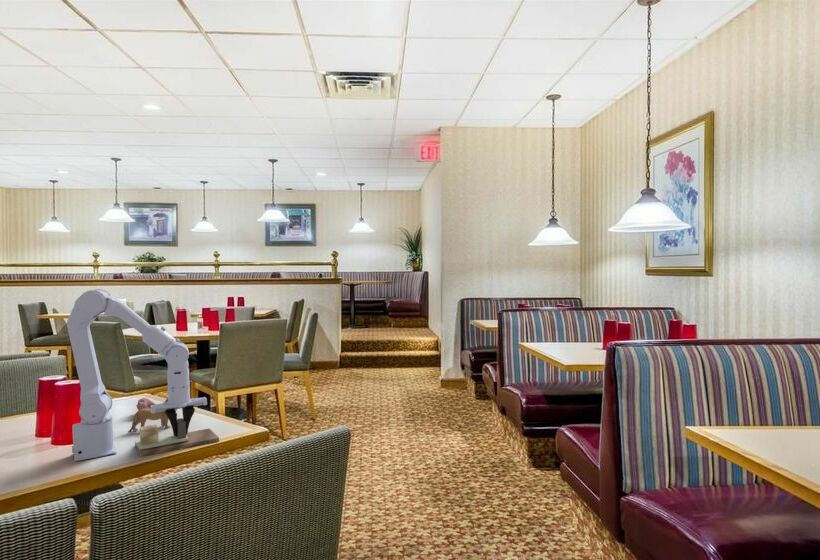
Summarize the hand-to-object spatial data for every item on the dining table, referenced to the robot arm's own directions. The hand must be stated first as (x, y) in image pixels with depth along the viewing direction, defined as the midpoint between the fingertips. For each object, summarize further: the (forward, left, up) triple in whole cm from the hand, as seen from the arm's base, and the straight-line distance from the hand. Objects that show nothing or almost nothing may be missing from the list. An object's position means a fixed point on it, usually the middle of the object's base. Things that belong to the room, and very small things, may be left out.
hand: (180, 434), depth 151 cm
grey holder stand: (-5, 0, -1) cm, 5 cm away
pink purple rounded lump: (-3, +39, -3) cm, 39 cm away
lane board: (-1, 0, -2) cm, 3 cm away
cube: (-8, 0, -1) cm, 8 cm away
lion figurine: (-3, +20, -3) cm, 21 cm away
